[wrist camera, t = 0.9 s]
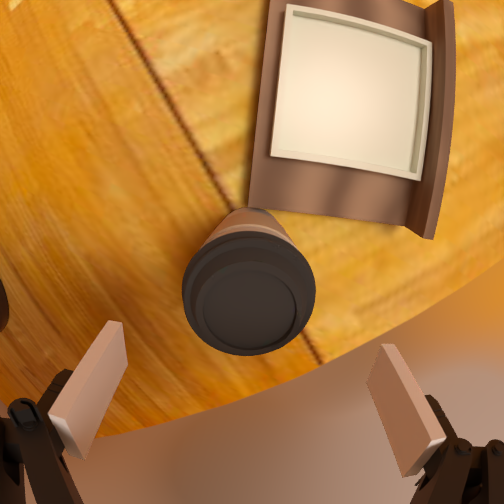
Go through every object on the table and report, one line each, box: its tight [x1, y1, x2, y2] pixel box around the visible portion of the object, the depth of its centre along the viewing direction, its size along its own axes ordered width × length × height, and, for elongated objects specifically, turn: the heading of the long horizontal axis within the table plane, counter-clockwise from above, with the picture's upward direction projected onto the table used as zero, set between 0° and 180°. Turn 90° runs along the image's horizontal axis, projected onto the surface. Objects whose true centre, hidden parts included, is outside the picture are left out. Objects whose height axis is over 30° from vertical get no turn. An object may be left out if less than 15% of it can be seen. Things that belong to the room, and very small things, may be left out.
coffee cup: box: [182, 207, 316, 356], centre depth 26 cm, size 9×9×15 cm
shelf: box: [248, 0, 456, 240], centre depth 25 cm, size 17×24×7 cm
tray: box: [269, 4, 432, 181], centre depth 24 cm, size 14×14×2 cm
